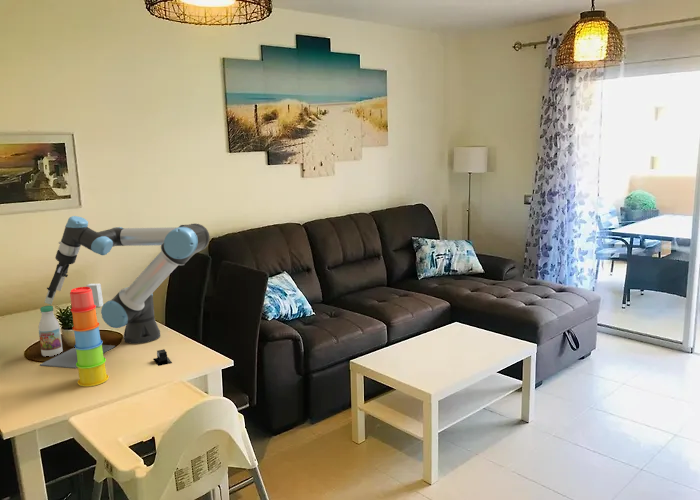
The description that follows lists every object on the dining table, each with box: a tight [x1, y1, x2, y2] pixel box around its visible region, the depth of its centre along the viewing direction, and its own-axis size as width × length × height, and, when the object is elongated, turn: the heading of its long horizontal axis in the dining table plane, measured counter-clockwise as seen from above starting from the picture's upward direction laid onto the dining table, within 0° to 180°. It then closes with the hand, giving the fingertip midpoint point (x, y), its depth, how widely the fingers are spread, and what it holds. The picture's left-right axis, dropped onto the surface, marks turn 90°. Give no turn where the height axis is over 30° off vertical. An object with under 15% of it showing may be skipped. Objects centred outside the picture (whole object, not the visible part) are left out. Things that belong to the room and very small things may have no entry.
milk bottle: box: [38, 305, 64, 357], centre depth 229 cm, size 8×8×20 cm
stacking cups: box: [69, 286, 110, 388], centre depth 199 cm, size 10×10×35 cm
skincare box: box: [85, 283, 104, 308], centre depth 300 cm, size 6×4×12 cm
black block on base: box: [152, 348, 173, 367], centre depth 220 cm, size 12×7×5 cm, turn 32°
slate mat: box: [39, 344, 116, 369], centre depth 228 cm, size 16×24×1 cm, turn 166°
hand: (52, 296), depth 236 cm, fingers open, 13 cm apart
